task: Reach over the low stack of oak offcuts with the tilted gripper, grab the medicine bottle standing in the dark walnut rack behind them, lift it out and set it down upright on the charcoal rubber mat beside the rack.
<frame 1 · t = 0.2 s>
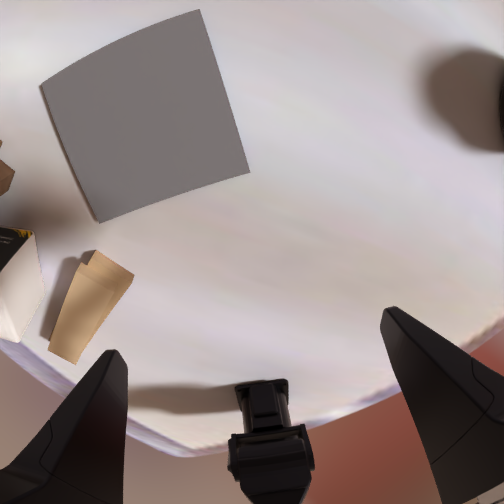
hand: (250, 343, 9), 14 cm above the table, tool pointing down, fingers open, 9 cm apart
walnut rack: (7, 253, 22), on the table
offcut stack: (85, 308, 26), on the table
medicine bottle: (14, 257, 22), on the table
rubber mat: (140, 119, 18), on the table
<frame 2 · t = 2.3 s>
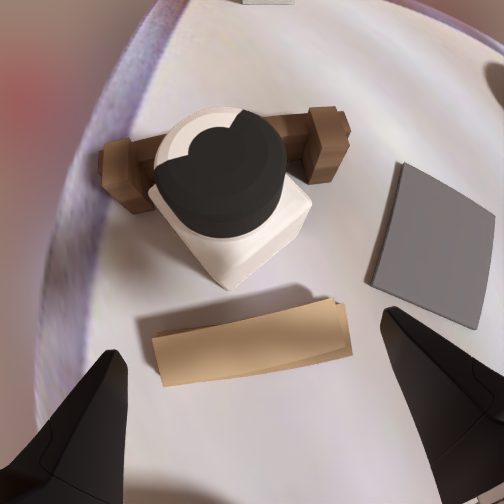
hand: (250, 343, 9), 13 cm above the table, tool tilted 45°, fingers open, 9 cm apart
walnut rack: (234, 218, 24), on the table
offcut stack: (254, 346, 22), on the table
medicine bottle: (235, 230, 24), on the table
rubber mat: (443, 246, 23), on the table
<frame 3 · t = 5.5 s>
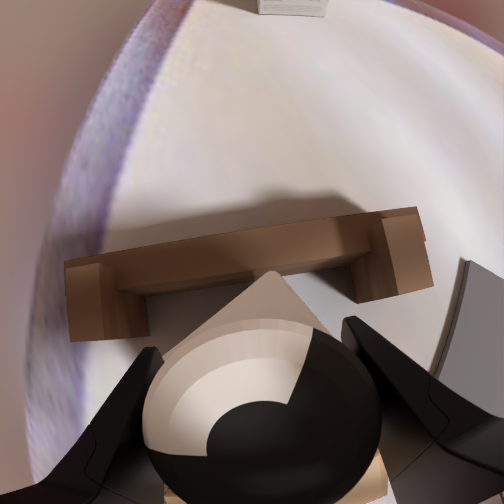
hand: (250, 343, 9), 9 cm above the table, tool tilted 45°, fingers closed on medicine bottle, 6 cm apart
supplement box: (288, 2, 25), on the table
walnut rack: (258, 355, 17), on the table
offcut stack: (281, 491, 15), on the table
medicine bottle: (259, 369, 17), on the table, touching gripper
rubber mat: (496, 359, 17), on the table
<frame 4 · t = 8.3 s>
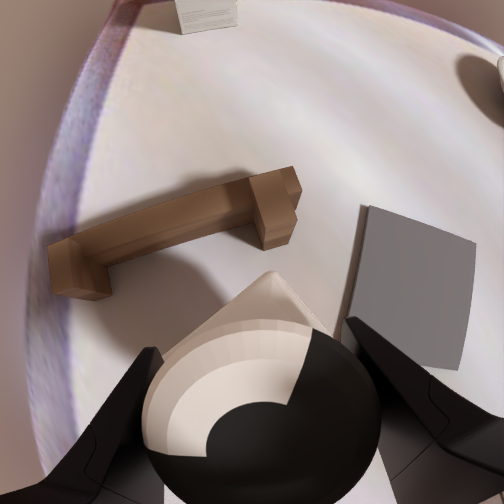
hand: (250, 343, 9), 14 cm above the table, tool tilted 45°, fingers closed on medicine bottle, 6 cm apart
supplement box: (208, 18, 31), on the table
walnut rack: (190, 299, 23), on the table
medicine bottle: (258, 368, 17), point 5 cm above the table, touching gripper
rubber mat: (417, 292, 23), on the table
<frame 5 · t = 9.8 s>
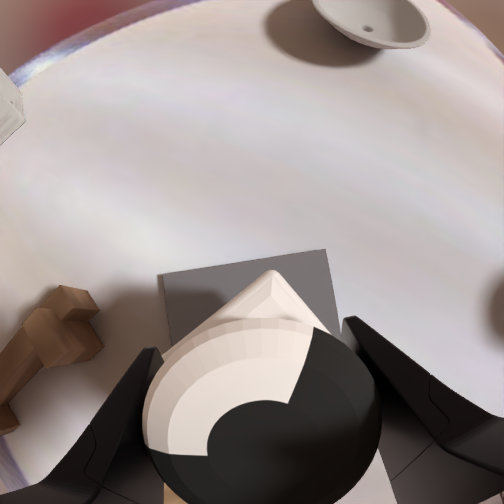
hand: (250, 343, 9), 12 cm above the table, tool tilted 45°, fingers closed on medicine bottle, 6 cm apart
supplement box: (6, 124, 27), on the table
walnut rack: (61, 415, 20), on the table
dish: (364, 35, 28), on the table
medicine bottle: (258, 367, 17), point 4 cm above the table, touching gripper
rubber mat: (256, 344, 21), on the table
when the fingers open (10 cm above the table, at t = 11.1 s): medicine bottle stays where it is, resting on rubber mat.
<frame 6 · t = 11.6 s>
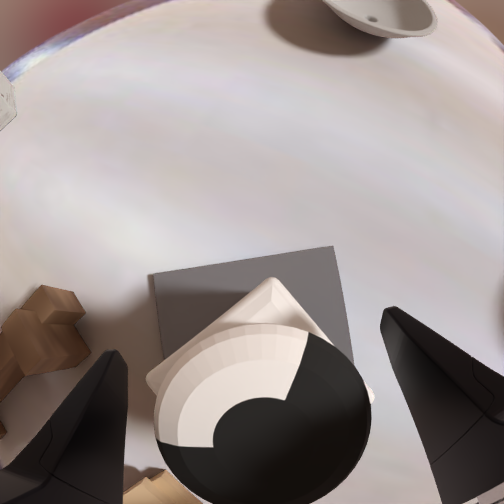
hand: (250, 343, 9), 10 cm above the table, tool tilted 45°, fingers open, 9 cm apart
walnut rack: (48, 425, 17), on the table
dish: (368, 25, 26), on the table
medicine bottle: (259, 368, 18), resting on rubber mat
rubber mat: (257, 352, 19), on the table
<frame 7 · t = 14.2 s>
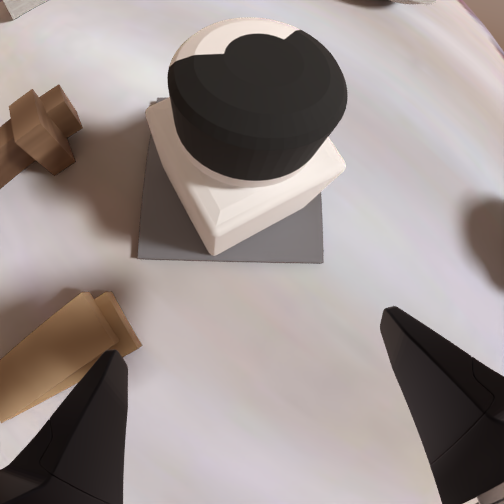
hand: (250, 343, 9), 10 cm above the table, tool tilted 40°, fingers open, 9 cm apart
walnut rack: (3, 242, 17), on the table
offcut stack: (53, 362, 17), on the table
medicine bottle: (233, 185, 20), resting on rubber mat
rubber mat: (233, 173, 20), on the table
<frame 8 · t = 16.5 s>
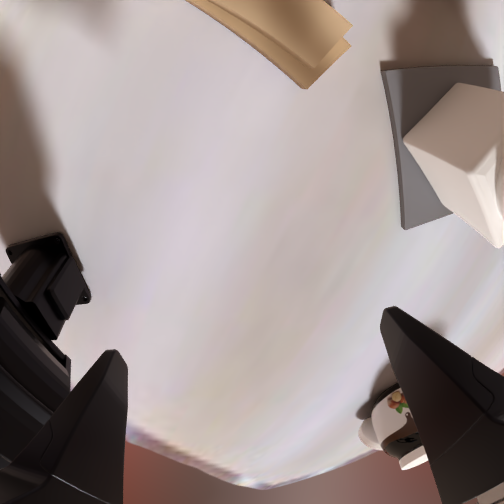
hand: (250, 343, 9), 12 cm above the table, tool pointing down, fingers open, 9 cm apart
spread jar: (390, 399, 38), on the table
medicine bottle: (450, 143, 18), resting on rubber mat
rubber mat: (455, 140, 18), on the table
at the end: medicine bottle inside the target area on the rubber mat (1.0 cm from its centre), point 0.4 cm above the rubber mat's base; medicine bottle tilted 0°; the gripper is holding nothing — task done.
